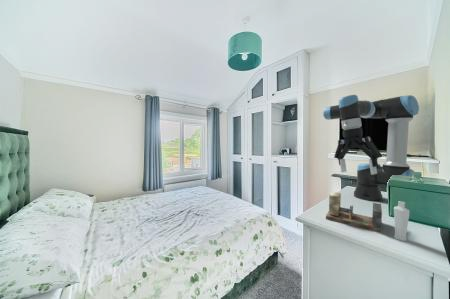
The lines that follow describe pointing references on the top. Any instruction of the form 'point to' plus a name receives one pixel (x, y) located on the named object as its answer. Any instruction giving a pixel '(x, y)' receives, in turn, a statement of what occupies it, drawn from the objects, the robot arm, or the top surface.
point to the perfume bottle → (401, 221)
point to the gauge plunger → (336, 204)
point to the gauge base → (361, 219)
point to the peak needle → (350, 212)
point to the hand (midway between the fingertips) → (357, 172)
